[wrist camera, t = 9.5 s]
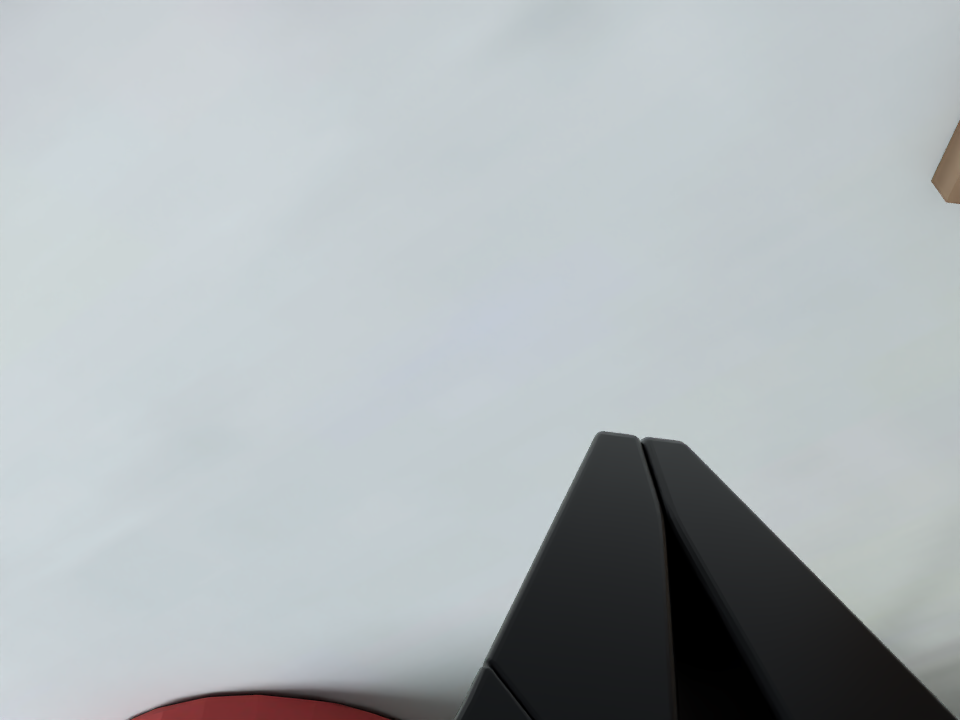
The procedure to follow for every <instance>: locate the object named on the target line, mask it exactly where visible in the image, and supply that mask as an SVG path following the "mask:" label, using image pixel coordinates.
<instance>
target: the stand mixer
mask: <svg viewBox="0 0 960 720" xmlns="http://www.w3.org/2000/svg"><path fill="white" fill-rule="evenodd" d="M131 720H390V719H387V718H384V717H381V716H378V715H376V714H373V713H370V712H366V711H363V710H359V709H356V708H352V707H348V706H345V705H341V704H338V703H331V702H323V701H314V700H304V699H295V698H285V697H275V696H265V695H242V696H221V697H206V698H201V699H197V700H192V701H188V702H183V703H178V704H174V705H169V706H165V707H160V708H156V709H154V710H151V711H149V712H147V713H144V714H142V715H140V716H138V717H135V718H133V719H131Z"/></svg>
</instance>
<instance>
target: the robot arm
mask: <svg viewBox="0 0 960 720" xmlns="http://www.w3.org/2000/svg"><path fill="white" fill-rule="evenodd" d="M454 720H958V719H957V718H956V717H955V716H954V715H953V714H952V713H951V712H950V711H949V710H948V708H947V707H946V706H945V705H944V704H943V703H942V702H941V701H940V700H939V699H938V698H937V697H936V696H935V695H934V694H933V693H932V692H931V691H930V690H929V689H928V688H927V687H926V686H925V685H924V684H923V683H922V682H921V681H920V680H919V679H918V678H917V677H916V676H915V675H914V674H913V673H912V672H911V671H910V670H909V669H908V668H907V667H906V666H905V665H904V664H903V663H902V662H901V661H900V660H899V659H898V658H897V657H896V656H895V655H894V654H893V653H892V652H891V651H890V650H889V649H888V648H887V647H886V646H885V645H884V644H883V643H882V642H881V641H880V640H879V639H878V638H877V637H876V636H875V635H874V634H873V633H872V632H871V631H870V630H869V629H868V628H867V627H866V626H865V625H864V624H863V623H862V622H861V621H860V620H859V619H858V618H857V617H856V615H855V614H854V613H853V612H852V611H851V610H850V609H849V608H848V607H847V606H846V605H845V604H844V603H843V602H842V601H841V600H840V599H839V598H838V597H837V596H836V595H835V594H834V593H833V592H832V591H831V590H830V589H829V588H828V587H827V586H826V585H825V584H824V583H823V582H822V581H821V580H820V579H819V578H818V577H817V576H816V575H815V574H814V573H813V572H812V571H811V570H810V569H809V568H808V567H807V566H806V565H805V564H804V563H803V562H802V561H801V560H800V559H799V558H798V557H797V556H796V555H795V554H794V553H793V552H792V551H791V550H790V549H789V548H788V547H787V546H786V545H785V544H784V543H783V542H782V541H781V540H780V539H779V538H778V537H777V536H776V535H775V534H774V533H773V532H772V531H771V530H770V529H769V528H768V527H767V526H766V525H765V523H764V522H763V521H762V520H761V519H760V518H759V517H758V516H757V515H756V514H755V513H754V512H753V511H752V510H751V509H750V508H749V507H748V506H747V505H746V504H745V503H744V502H743V501H742V500H741V499H740V498H739V497H738V496H737V495H736V494H735V493H734V492H733V491H732V490H731V489H730V488H729V487H728V486H727V485H726V484H725V483H724V482H723V481H722V480H721V479H720V478H719V477H718V476H717V475H716V474H715V473H714V472H713V471H712V470H711V469H710V468H709V467H708V466H707V465H706V464H705V463H704V462H703V461H702V460H701V459H700V458H699V457H698V456H697V455H696V454H695V453H694V452H693V451H692V450H691V449H690V448H689V447H688V446H687V445H686V444H684V443H683V442H681V441H676V440H668V439H660V438H652V437H645V438H643V439H642V440H641V441H640V440H639V438H637V437H636V436H634V435H629V434H621V433H613V432H605V431H601V432H598V433H597V434H596V435H595V437H594V439H593V441H592V443H591V445H590V447H589V449H588V451H587V453H586V455H585V457H584V459H583V462H582V464H581V466H580V468H579V470H578V472H577V474H576V476H575V478H574V480H573V482H572V484H571V486H570V488H569V490H568V492H567V494H566V496H565V498H564V500H563V502H562V504H561V506H560V508H559V510H558V512H557V514H556V516H555V518H554V520H553V523H552V525H551V527H550V529H549V531H548V533H547V535H546V537H545V539H544V541H543V543H542V545H541V547H540V549H539V551H538V553H537V555H536V557H535V559H534V561H533V563H532V565H531V567H530V569H529V571H528V573H527V575H526V577H525V579H524V581H523V584H522V586H521V588H520V590H519V592H518V594H517V596H516V598H515V600H514V602H513V604H512V606H511V608H510V610H509V612H508V614H507V616H506V618H505V620H504V622H503V624H502V626H501V628H500V630H499V632H498V634H497V636H496V638H495V640H494V642H493V645H492V647H491V649H490V651H489V653H488V655H487V657H486V659H485V661H484V663H483V667H482V668H480V669H479V671H478V673H477V675H476V677H475V679H474V681H473V683H472V685H471V687H470V689H469V691H468V693H467V696H466V698H465V700H464V702H463V704H462V706H461V707H460V709H459V711H458V713H457V715H456V717H455V718H454Z"/></svg>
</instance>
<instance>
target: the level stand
mask: <svg viewBox="0 0 960 720" xmlns="http://www.w3.org/2000/svg"><path fill="white" fill-rule="evenodd" d="M931 181H932V183H933V184H934V186H935V187H936V189H937V190H938V192H939V193H940V194H941V196H942V197H943V199H944V200H945V202H947V203H956V204H960V121H959V123H958V125H957V127H956V129H955V131H954V133H953V136H952V138H951V140H950V142H949V144H948V146H947V148H946V150H945V153H944V155H943V157H942V159H941V161H940V163H939V165H938V167H937V170H936V172H935V174H934V176H933V178H932V180H931Z"/></svg>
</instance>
